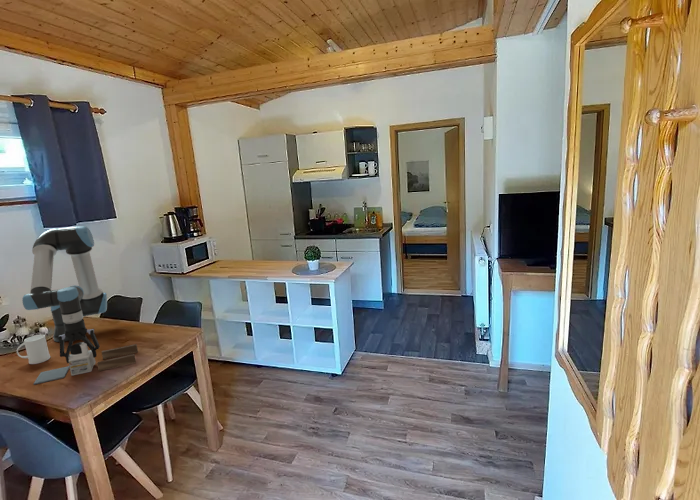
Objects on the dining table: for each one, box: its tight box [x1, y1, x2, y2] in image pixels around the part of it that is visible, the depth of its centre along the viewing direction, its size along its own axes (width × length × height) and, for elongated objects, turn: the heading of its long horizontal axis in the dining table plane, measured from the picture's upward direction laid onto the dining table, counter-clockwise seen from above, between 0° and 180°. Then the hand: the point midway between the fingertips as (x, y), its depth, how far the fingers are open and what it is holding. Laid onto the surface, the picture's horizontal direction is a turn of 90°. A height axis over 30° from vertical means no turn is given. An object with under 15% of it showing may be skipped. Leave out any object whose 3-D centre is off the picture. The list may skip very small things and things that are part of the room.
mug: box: [16, 334, 51, 365], centre depth 185 cm, size 12×8×12 cm
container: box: [68, 341, 95, 376], centre depth 173 cm, size 8×8×13 cm
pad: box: [33, 365, 70, 386], centre depth 170 cm, size 11×11×1 cm
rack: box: [96, 343, 139, 372], centre depth 181 cm, size 14×15×4 cm
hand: (83, 366), depth 175 cm, fingers closed on container, 8 cm apart
